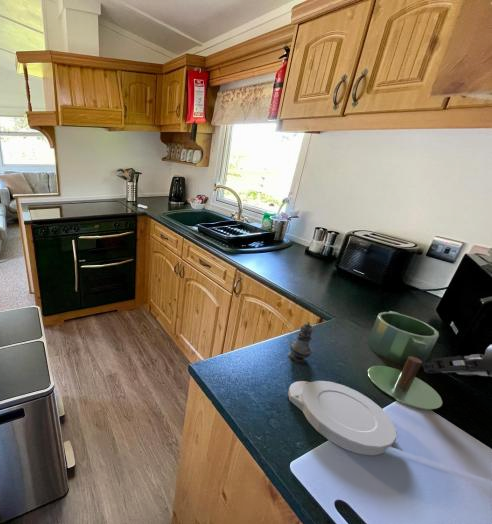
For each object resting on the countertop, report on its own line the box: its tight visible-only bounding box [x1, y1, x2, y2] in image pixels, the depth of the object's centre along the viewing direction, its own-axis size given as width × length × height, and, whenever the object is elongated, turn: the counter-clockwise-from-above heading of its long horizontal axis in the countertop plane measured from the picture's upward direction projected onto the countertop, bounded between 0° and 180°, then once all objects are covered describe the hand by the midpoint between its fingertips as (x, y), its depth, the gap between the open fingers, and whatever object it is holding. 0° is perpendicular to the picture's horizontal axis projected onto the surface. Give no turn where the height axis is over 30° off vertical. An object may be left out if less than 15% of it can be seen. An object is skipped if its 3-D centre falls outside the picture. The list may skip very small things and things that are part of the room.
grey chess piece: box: [287, 321, 314, 365], centre depth 81 cm, size 6×6×12 cm
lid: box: [287, 380, 397, 456], centre depth 64 cm, size 17×20×3 cm
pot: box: [366, 310, 440, 368], centre depth 86 cm, size 14×19×10 cm
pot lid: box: [367, 356, 443, 411], centre depth 72 cm, size 15×15×9 cm
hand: (443, 369), depth 64 cm, fingers open, 8 cm apart
